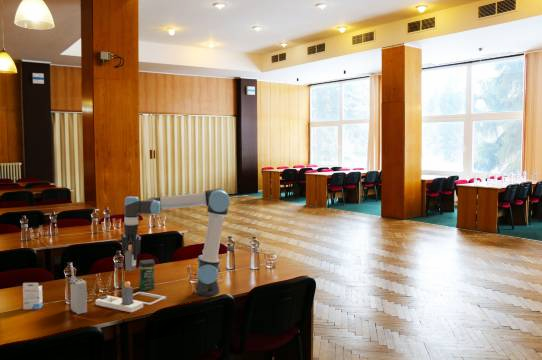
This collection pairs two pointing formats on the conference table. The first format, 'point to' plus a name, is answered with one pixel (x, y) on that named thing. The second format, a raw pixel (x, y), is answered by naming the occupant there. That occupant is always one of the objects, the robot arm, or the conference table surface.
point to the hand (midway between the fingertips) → (130, 264)
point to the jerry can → (78, 294)
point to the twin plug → (127, 294)
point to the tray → (150, 296)
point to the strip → (118, 303)
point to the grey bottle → (129, 259)
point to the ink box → (32, 296)
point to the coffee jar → (146, 275)
